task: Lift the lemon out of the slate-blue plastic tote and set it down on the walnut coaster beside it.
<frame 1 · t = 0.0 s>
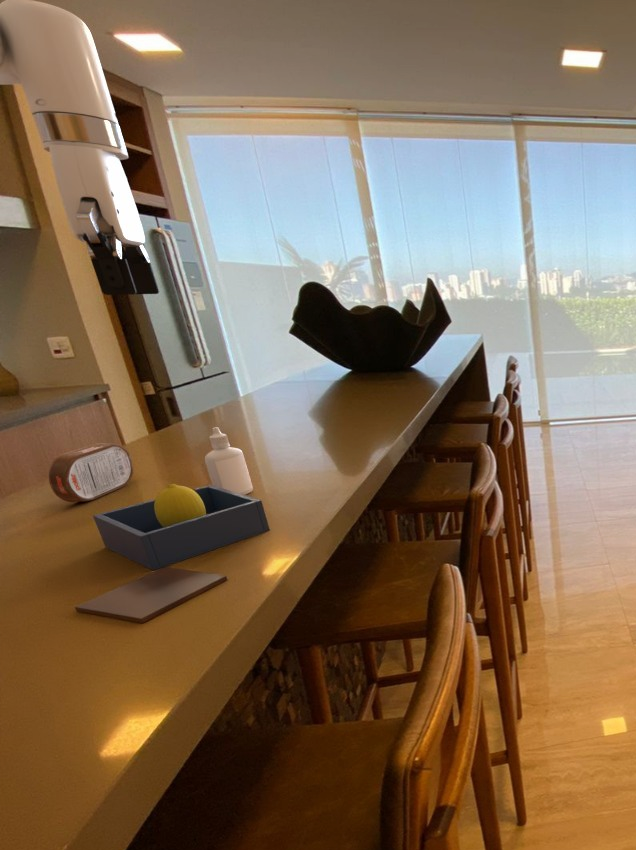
hand: (133, 294, 73), 33 cm above the counter, tool pointing down, fingers open, 9 cm apart
tin: (104, 495, 100), on the counter
tote: (190, 538, 81), on the counter
lemon: (189, 537, 81), resting on tote
eye dropper bottle: (236, 496, 98), on the counter
coaster: (155, 594, 66), on the counter
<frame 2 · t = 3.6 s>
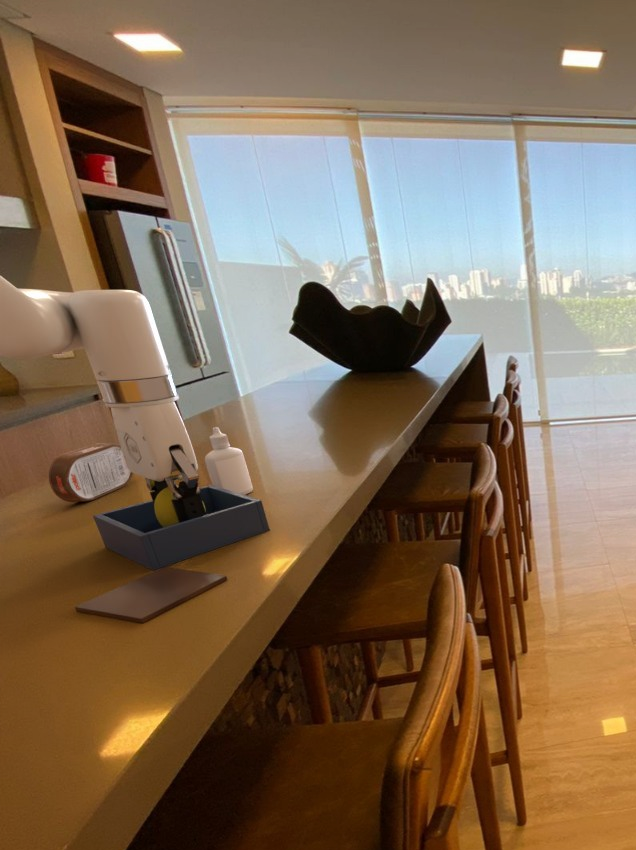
hand: (183, 517, 80), 3 cm above the counter, tool pointing down, fingers closed on lemon, 5 cm apart
lemon: (189, 537, 81), resting on tote, touching gripper
everything else where it was.
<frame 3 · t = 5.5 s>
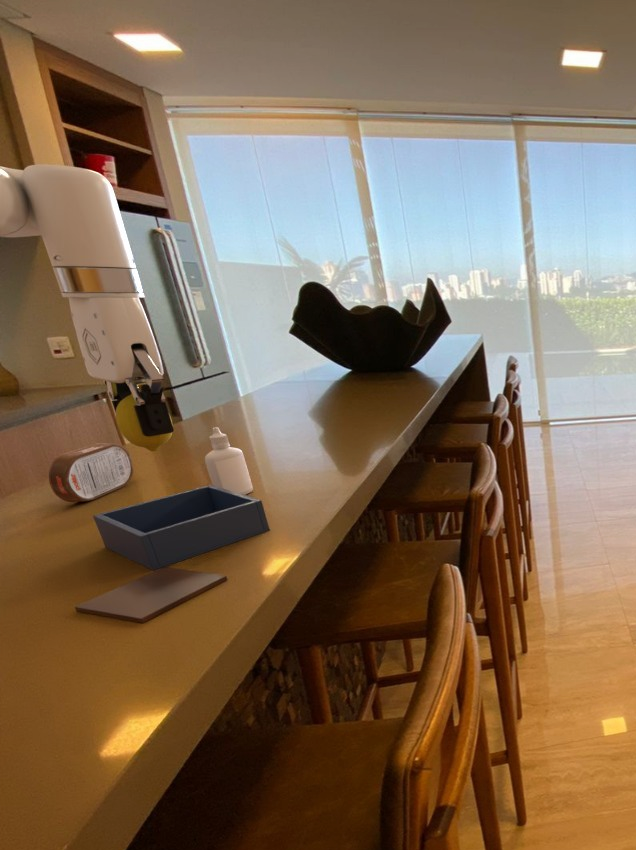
hand: (147, 430, 75), 16 cm above the counter, tool pointing down, fingers closed on lemon, 5 cm apart
lemon: (154, 452, 76), point 13 cm above the counter, touching gripper
everything else where it was.
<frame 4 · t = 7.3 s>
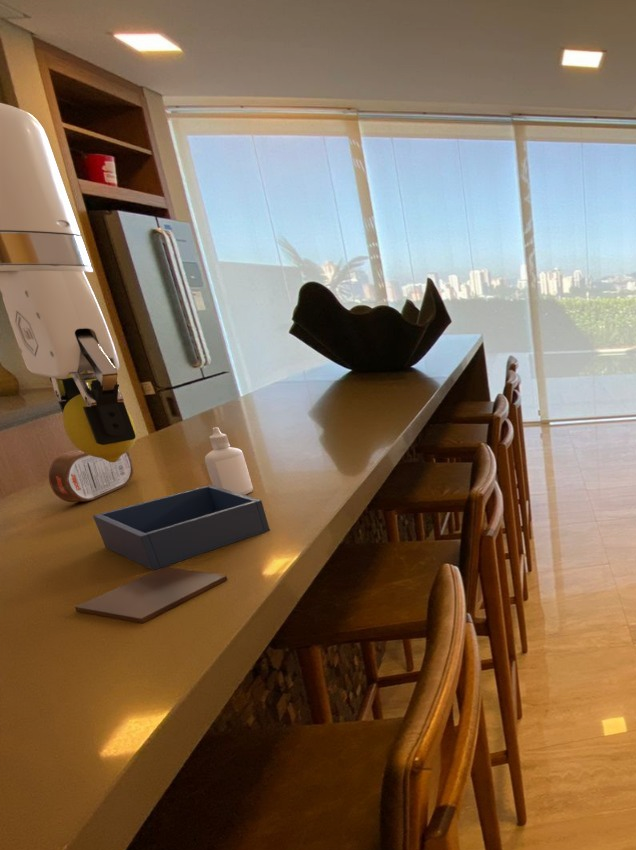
hand: (103, 436, 61), 19 cm above the counter, tool pointing down, fingers closed on lemon, 5 cm apart
lemon: (114, 464, 62), point 15 cm above the counter, touching gripper
everything else where it was.
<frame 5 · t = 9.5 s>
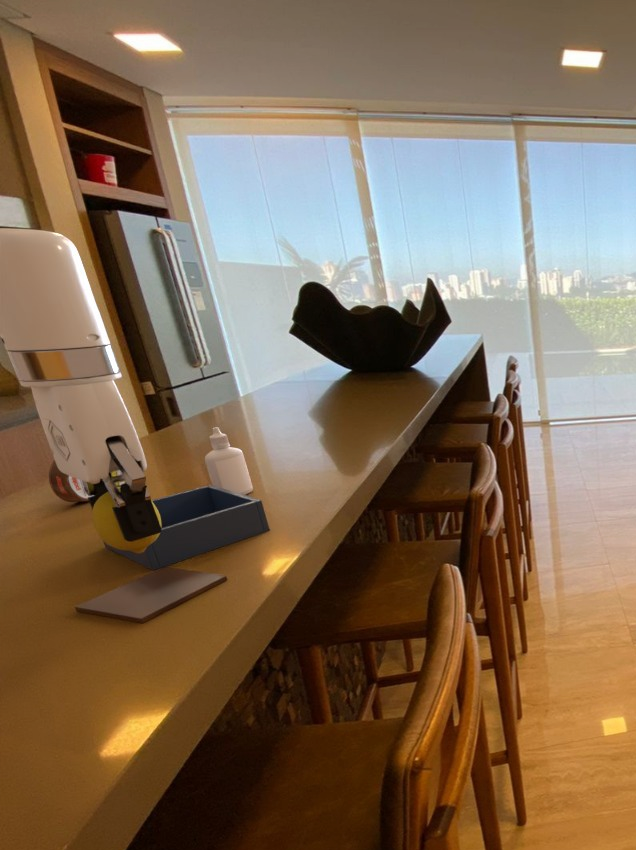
hand: (131, 529, 63), 8 cm above the counter, tool pointing down, fingers closed on lemon, 5 cm apart
lemon: (141, 554, 64), point 5 cm above the counter, touching gripper
everything else where it was.
when the fingers open (4 cm above the counter, at t = 11.2 s): lemon stays where it is, resting on coaster.
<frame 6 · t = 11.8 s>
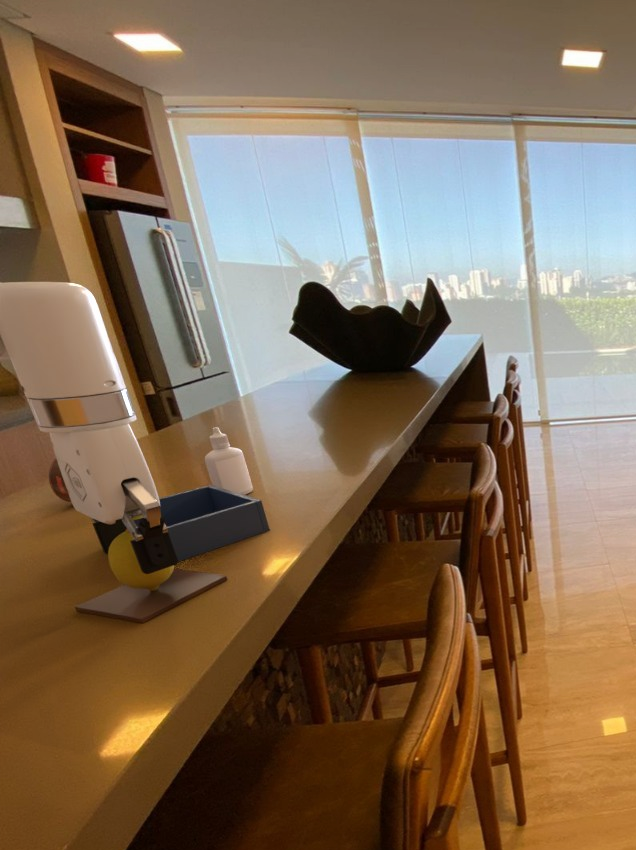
hand: (141, 559, 65), 5 cm above the counter, tool pointing down, fingers open, 9 cm apart
lemon: (154, 591, 66), resting on coaster
everything else where it was.
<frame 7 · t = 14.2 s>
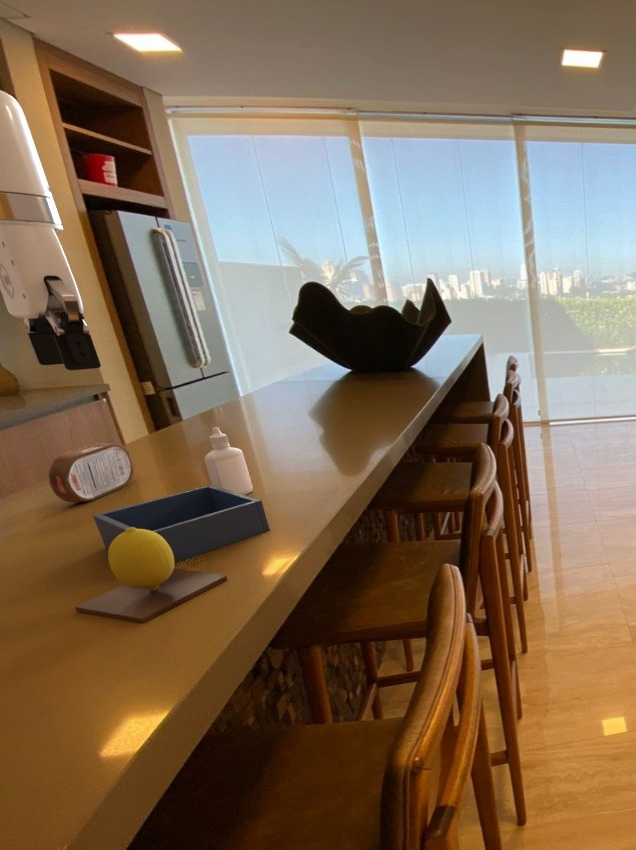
hand: (70, 366, 71), 25 cm above the counter, tool pointing down, fingers open, 9 cm apart
nothing on the counter moved.
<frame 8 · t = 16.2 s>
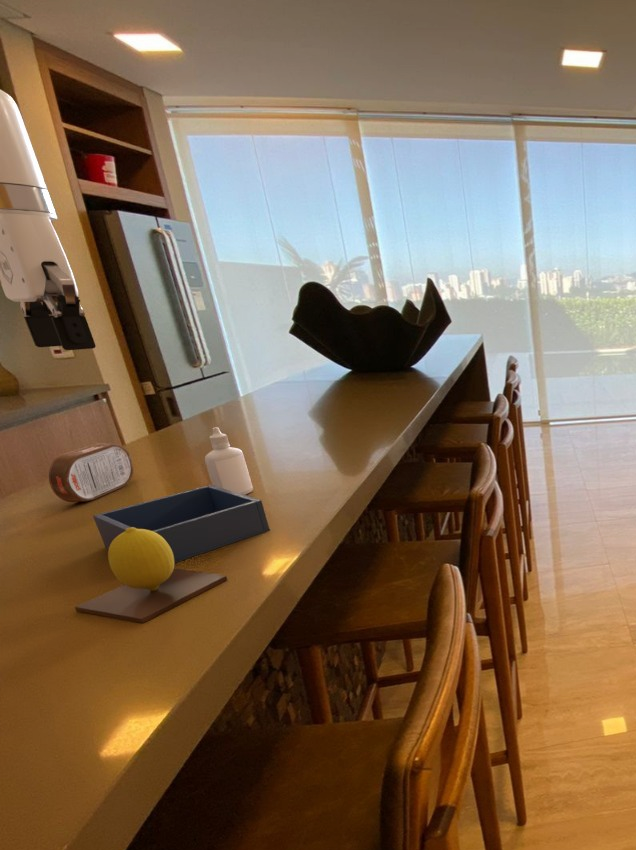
hand: (65, 347, 76), 26 cm above the counter, tool pointing down, fingers open, 9 cm apart
nothing on the counter moved.
at the end: lemon 0.1 cm from the coaster (horizontally); lemon touching coaster; the gripper is holding nothing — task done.
